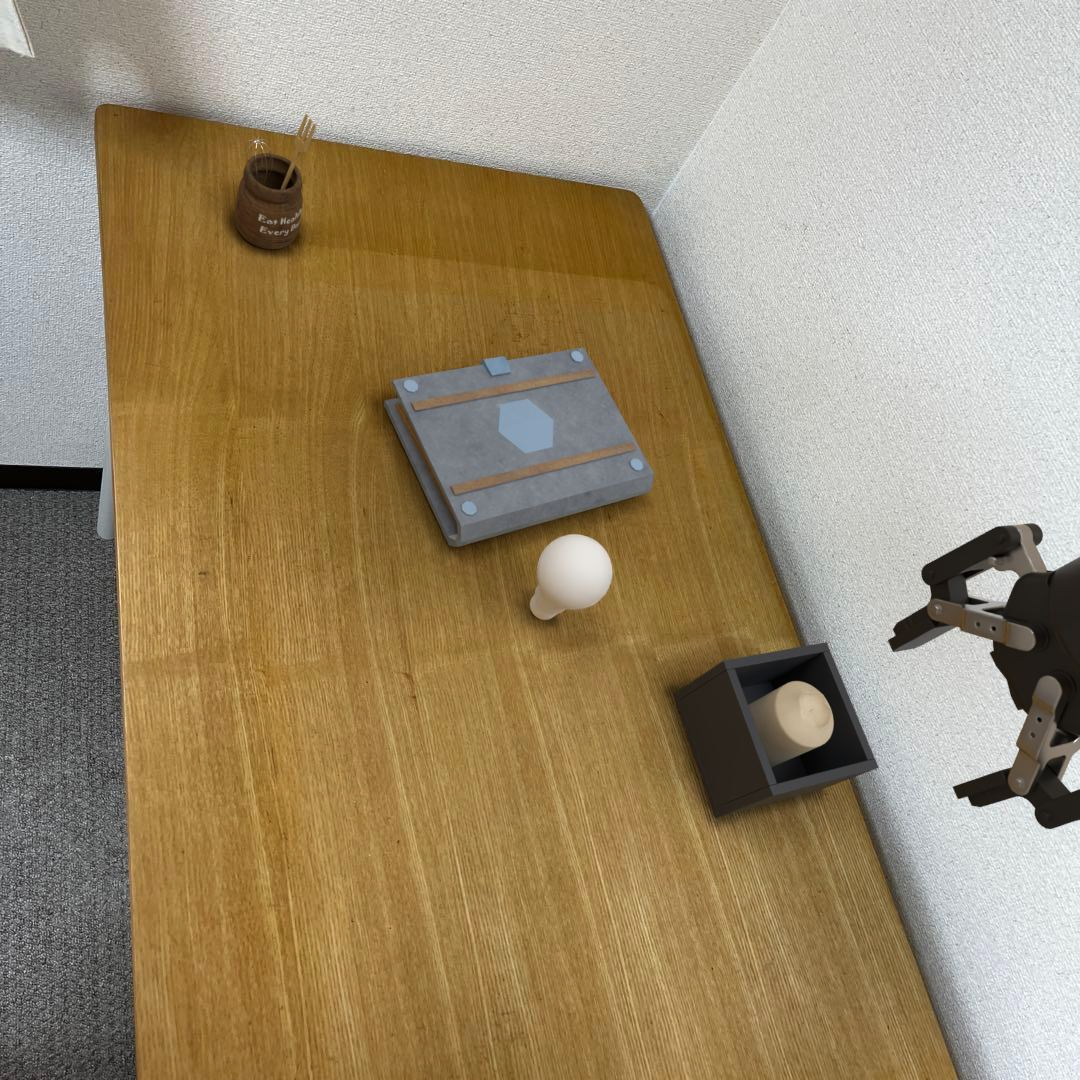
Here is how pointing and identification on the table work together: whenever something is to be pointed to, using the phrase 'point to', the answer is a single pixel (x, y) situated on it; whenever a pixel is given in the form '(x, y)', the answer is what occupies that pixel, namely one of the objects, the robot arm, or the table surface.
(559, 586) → the lightbulb
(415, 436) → the book
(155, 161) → the table surface
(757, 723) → the candle
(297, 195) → the utensil holder
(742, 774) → the bin
